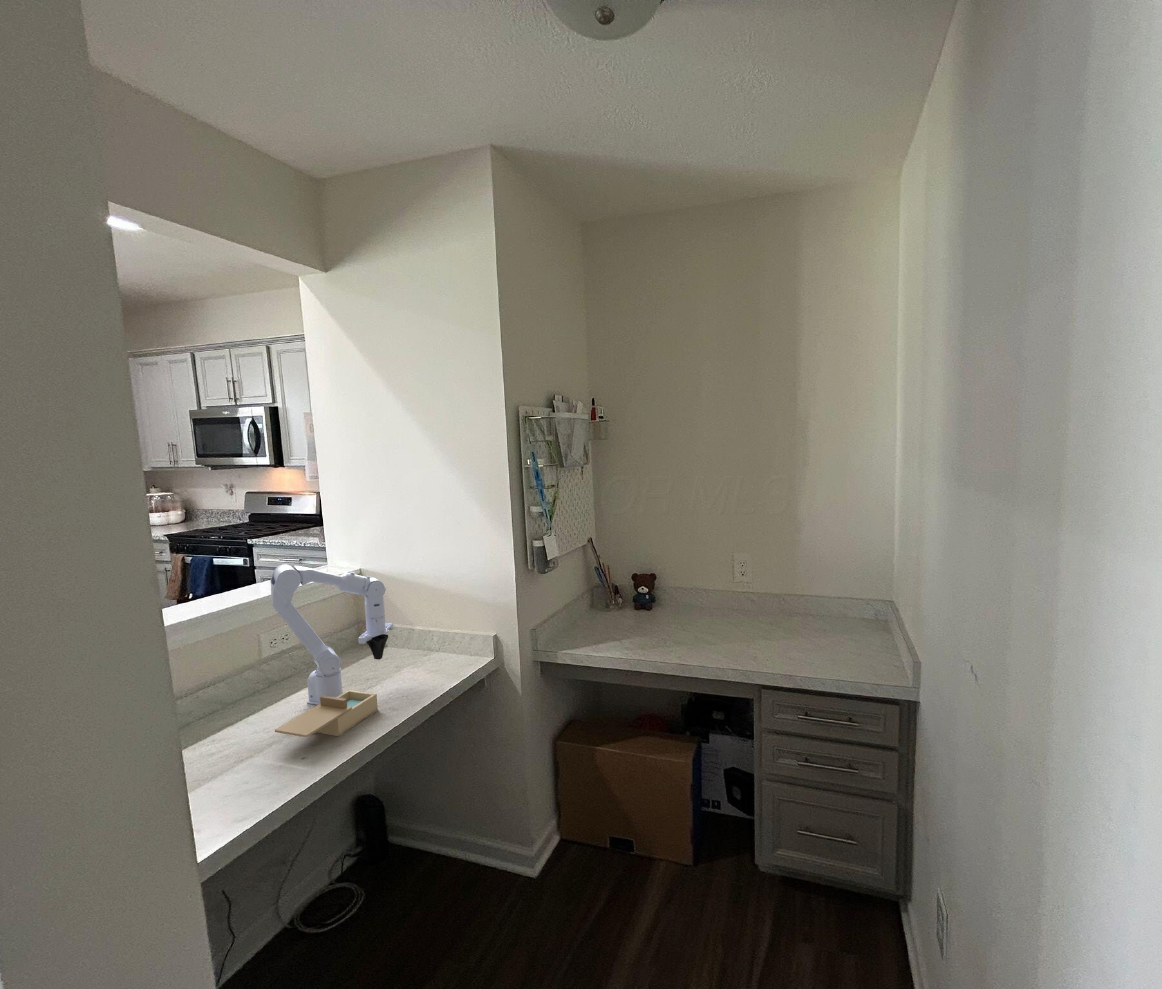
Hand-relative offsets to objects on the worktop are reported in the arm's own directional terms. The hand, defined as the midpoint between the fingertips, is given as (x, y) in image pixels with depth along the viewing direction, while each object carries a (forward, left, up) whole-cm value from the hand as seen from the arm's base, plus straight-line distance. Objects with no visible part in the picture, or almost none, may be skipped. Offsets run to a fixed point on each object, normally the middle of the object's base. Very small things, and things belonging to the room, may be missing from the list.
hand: (378, 658), depth 197 cm
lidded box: (+5, -22, -9) cm, 24 cm away
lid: (+5, -33, -4) cm, 34 cm away
